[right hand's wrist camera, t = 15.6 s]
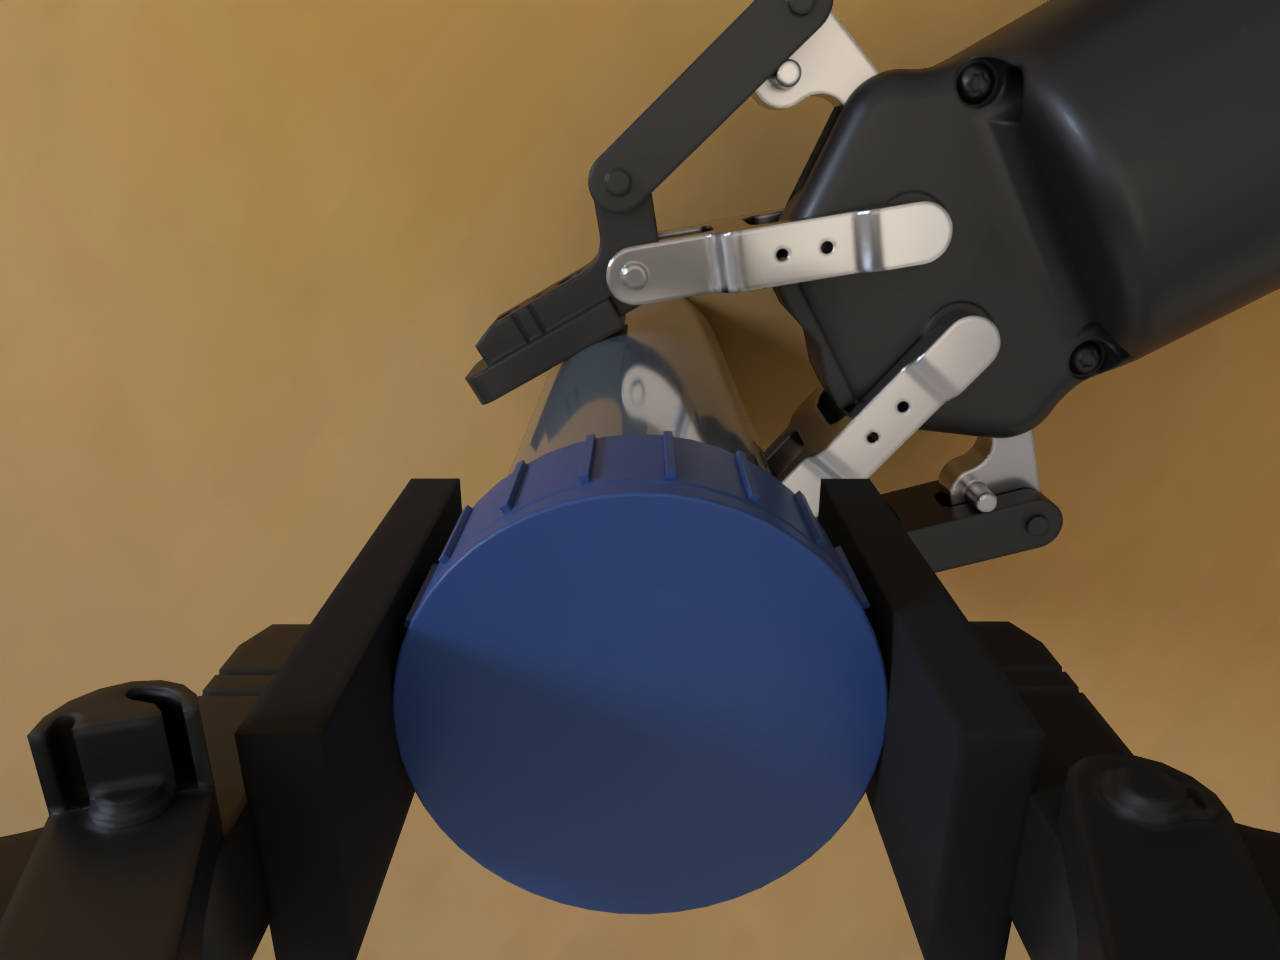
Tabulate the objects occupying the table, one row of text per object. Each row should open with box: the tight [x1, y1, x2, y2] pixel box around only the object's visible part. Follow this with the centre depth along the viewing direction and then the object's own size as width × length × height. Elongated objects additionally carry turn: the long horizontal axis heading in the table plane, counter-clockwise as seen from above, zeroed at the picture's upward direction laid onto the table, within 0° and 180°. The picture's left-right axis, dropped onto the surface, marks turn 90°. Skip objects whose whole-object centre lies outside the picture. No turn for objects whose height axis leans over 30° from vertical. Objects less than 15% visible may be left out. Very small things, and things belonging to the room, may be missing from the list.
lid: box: [392, 431, 888, 914], centre depth 11 cm, size 6×6×2 cm
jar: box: [508, 298, 772, 476], centre depth 19 cm, size 5×5×17 cm
